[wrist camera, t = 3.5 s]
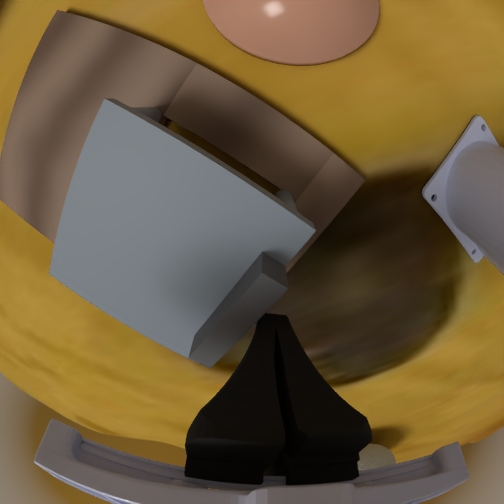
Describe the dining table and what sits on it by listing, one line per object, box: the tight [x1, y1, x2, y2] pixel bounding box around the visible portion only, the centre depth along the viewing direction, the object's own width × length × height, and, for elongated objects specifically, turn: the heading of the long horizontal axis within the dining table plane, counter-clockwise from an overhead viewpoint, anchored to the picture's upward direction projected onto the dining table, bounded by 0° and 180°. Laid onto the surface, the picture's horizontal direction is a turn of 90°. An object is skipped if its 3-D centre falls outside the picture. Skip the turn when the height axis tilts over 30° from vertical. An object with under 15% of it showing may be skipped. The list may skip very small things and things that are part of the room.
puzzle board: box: [0, 10, 365, 273], centre depth 16 cm, size 24×16×1 cm, turn 56°
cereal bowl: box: [357, 443, 396, 471], centre depth 32 cm, size 17×17×7 cm
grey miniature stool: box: [49, 98, 316, 368], centre depth 13 cm, size 10×10×6 cm
